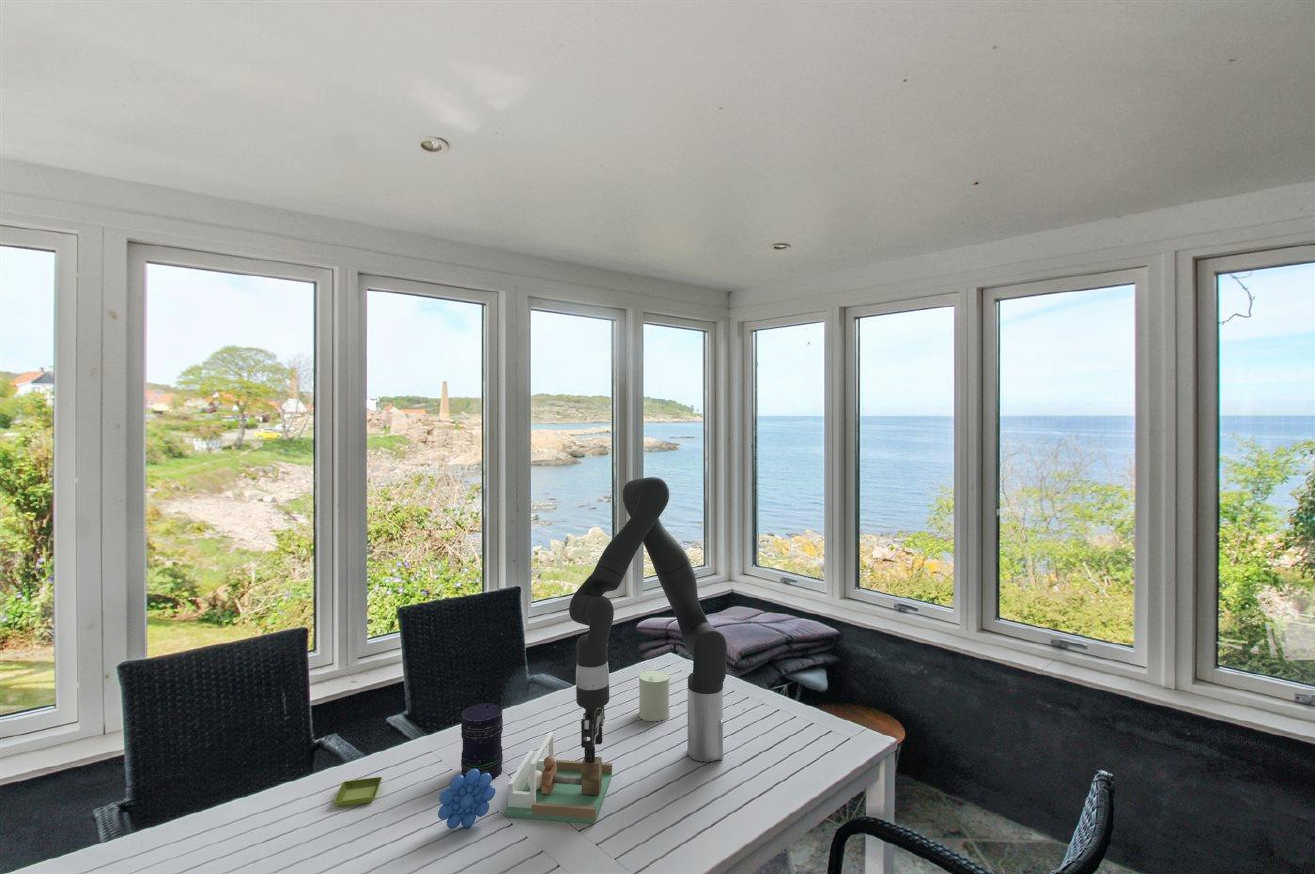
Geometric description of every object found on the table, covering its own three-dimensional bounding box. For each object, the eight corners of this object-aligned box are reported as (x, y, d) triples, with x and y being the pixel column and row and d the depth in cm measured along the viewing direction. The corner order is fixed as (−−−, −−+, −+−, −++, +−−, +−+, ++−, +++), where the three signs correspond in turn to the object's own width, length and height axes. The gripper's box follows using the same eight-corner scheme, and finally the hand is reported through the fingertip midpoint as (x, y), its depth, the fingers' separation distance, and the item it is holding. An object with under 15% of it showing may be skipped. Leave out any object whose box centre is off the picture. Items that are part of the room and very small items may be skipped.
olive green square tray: (332, 811, 137) (332, 801, 137) (342, 789, 145) (342, 780, 145) (375, 805, 139) (375, 796, 139) (382, 784, 148) (382, 776, 148)
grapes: (494, 810, 137) (494, 755, 137) (496, 828, 130) (496, 771, 130) (438, 819, 133) (438, 763, 133) (437, 839, 127) (437, 780, 127)
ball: (528, 768, 146) (532, 785, 146) (523, 777, 142) (527, 794, 142) (544, 765, 145) (548, 782, 145) (539, 774, 141) (543, 792, 141)
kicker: (602, 785, 144) (602, 754, 144) (598, 797, 139) (598, 765, 139) (546, 781, 146) (547, 750, 146) (540, 793, 141) (540, 761, 141)
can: (634, 719, 181) (634, 678, 182) (644, 706, 190) (644, 667, 190) (664, 723, 179) (664, 681, 179) (673, 710, 188) (673, 670, 188)
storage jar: (491, 785, 146) (491, 722, 147) (453, 781, 148) (453, 718, 148) (509, 764, 156) (509, 704, 156) (473, 760, 158) (473, 701, 158)
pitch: (612, 775, 151) (612, 731, 151) (595, 823, 132) (595, 772, 132) (532, 770, 153) (532, 726, 153) (504, 816, 135) (504, 766, 135)
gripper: (602, 695, 134) (604, 770, 134) (614, 670, 148) (615, 737, 148) (568, 694, 135) (570, 768, 135) (583, 669, 149) (584, 736, 149)
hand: (593, 752), depth 142 cm, fingers open, 8 cm apart
